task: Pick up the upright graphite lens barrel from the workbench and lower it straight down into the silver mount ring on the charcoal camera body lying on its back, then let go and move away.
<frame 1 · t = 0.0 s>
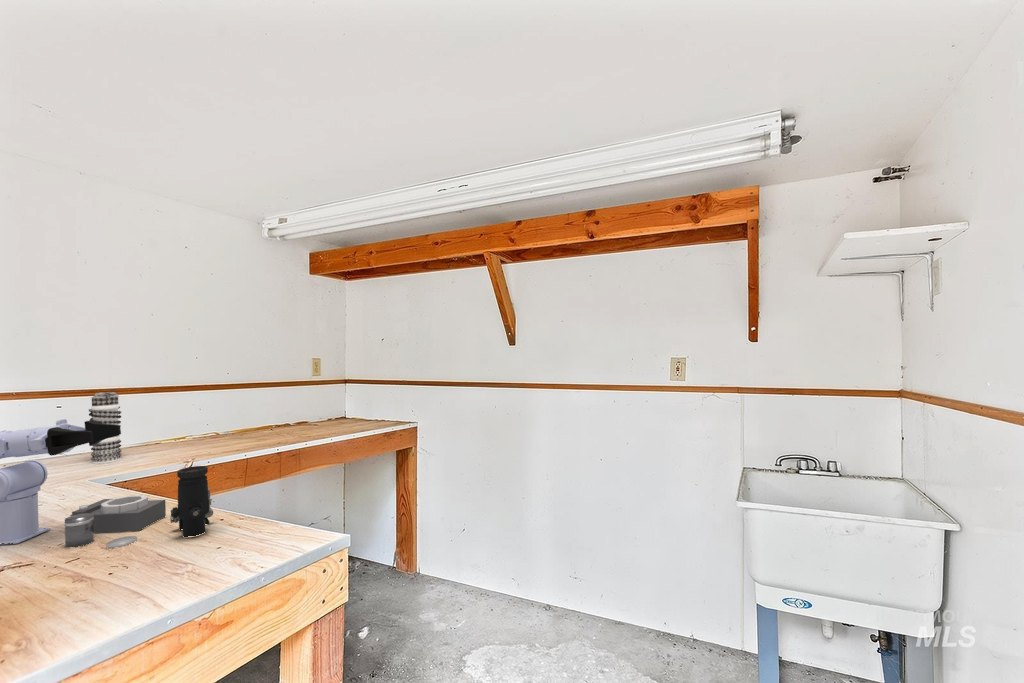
hand: (106, 433, 106), 22 cm above the workbench, tool horizontal, fingers open, 7 cm apart
grey domed disc: (122, 544, 100), on the workbench
camera body: (125, 524, 111), on the workbench
scope: (194, 533, 105), on the workbench
lens: (79, 543, 101), on the workbench
decorative candle: (106, 461, 178), on the workbench
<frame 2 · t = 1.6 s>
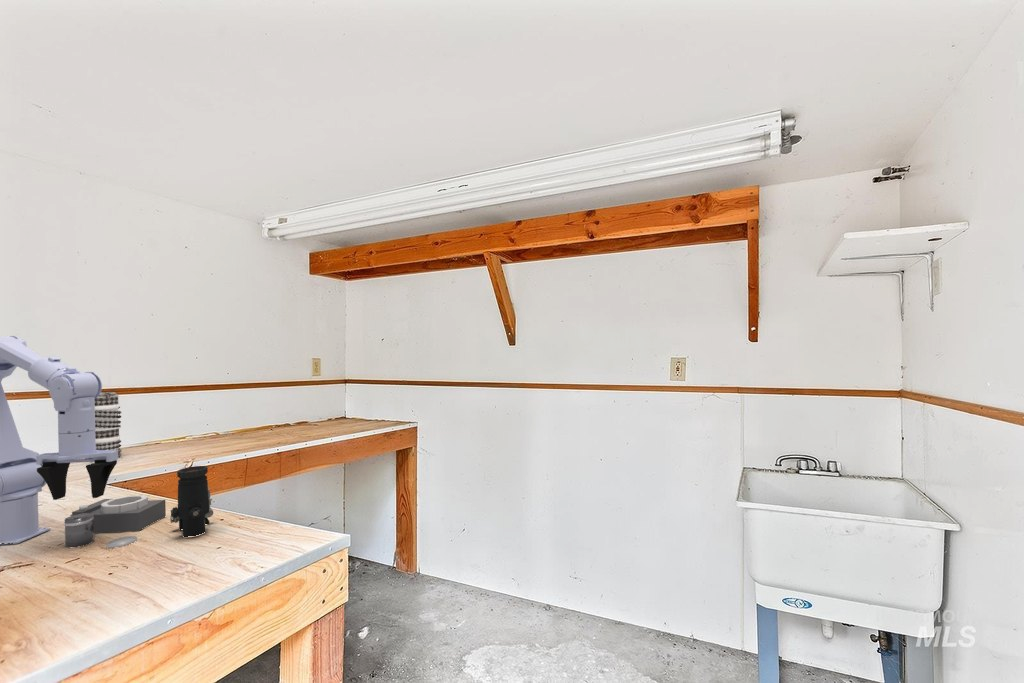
hand: (78, 497, 101), 9 cm above the workbench, tool pointing down, fingers open, 7 cm apart
nothing on the workbench moved.
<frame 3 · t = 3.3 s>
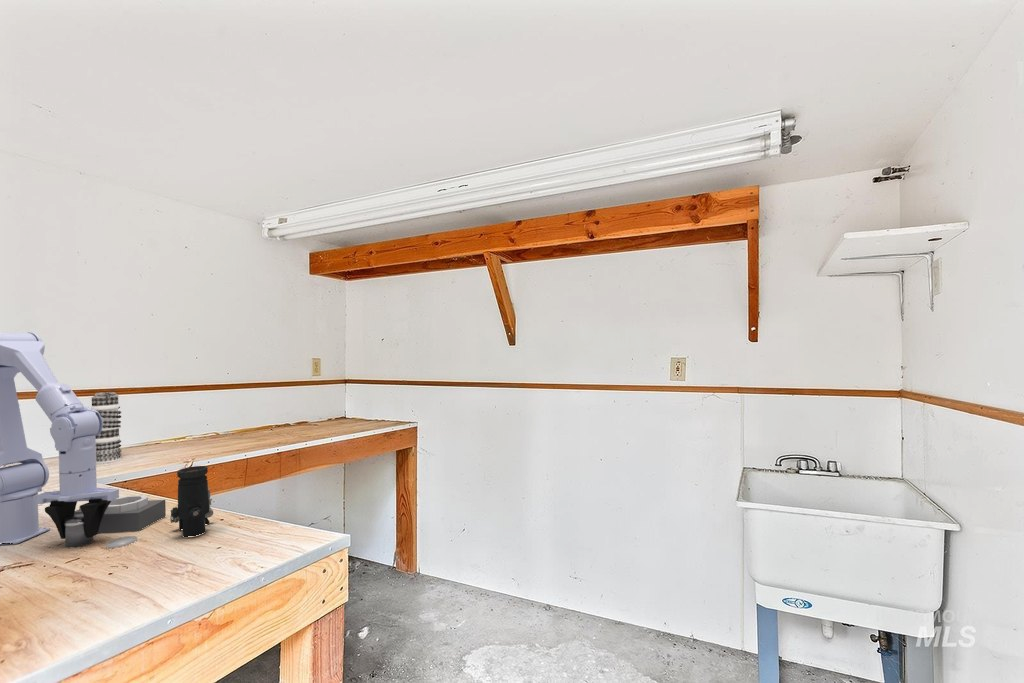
hand: (79, 536, 101), 1 cm above the workbench, tool pointing down, fingers closed on lens, 4 cm apart
lens: (79, 543, 101), on the workbench, touching gripper
everything else where it was.
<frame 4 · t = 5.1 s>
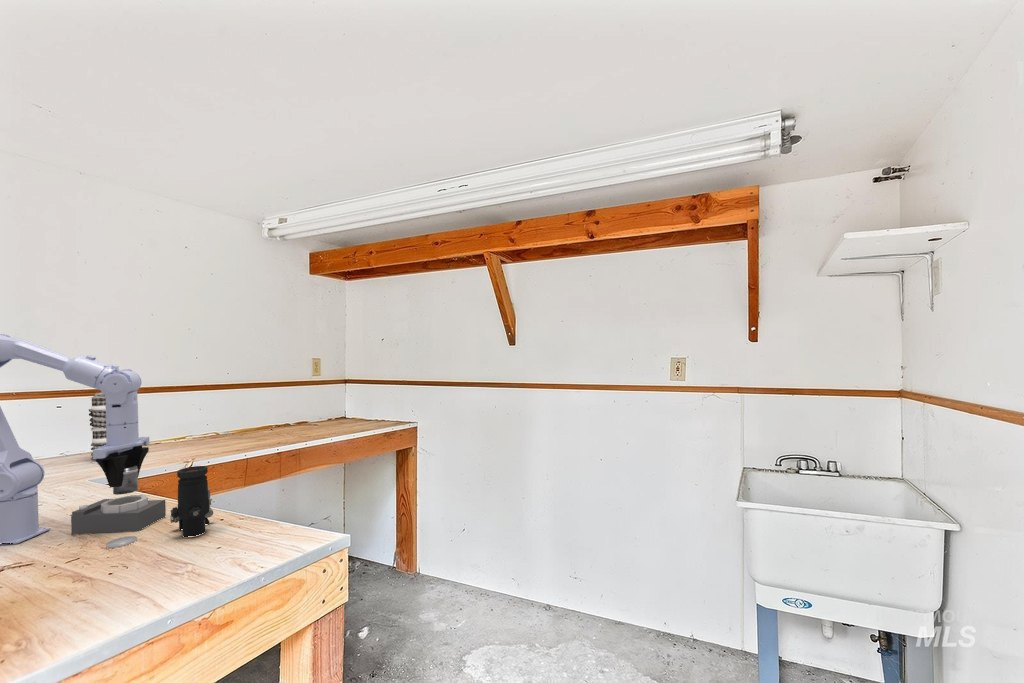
hand: (123, 483, 111), 9 cm above the workbench, tool pointing down, fingers closed on lens, 4 cm apart
lens: (125, 491, 111), point 8 cm above the workbench, touching gripper
everything else where it was.
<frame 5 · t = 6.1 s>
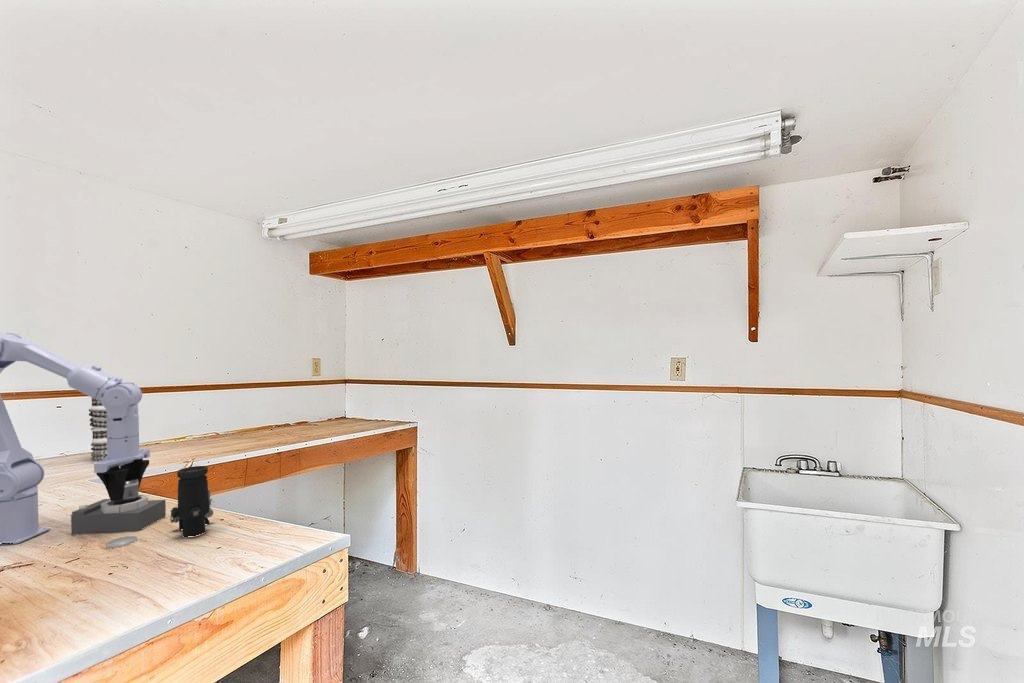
hand: (124, 496, 111), 6 cm above the workbench, tool pointing down, fingers closed on lens, 4 cm apart
lens: (126, 504, 111), point 5 cm above the workbench, touching gripper
everything else where it was.
when the fingers open (6 cm above the workbench, at t = 6.7 s): lens stays where it is, resting on camera body.
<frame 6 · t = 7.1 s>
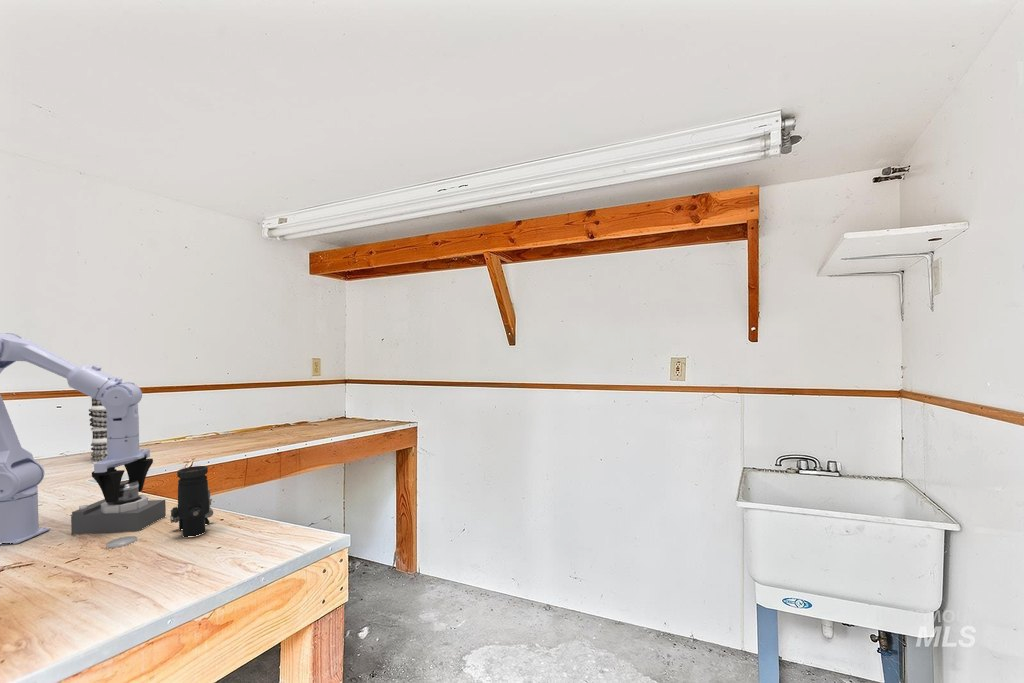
hand: (124, 496, 111), 6 cm above the workbench, tool pointing down, fingers open, 7 cm apart
lens: (126, 507, 111), point 4 cm above the workbench, touching camera body
everything else where it was.
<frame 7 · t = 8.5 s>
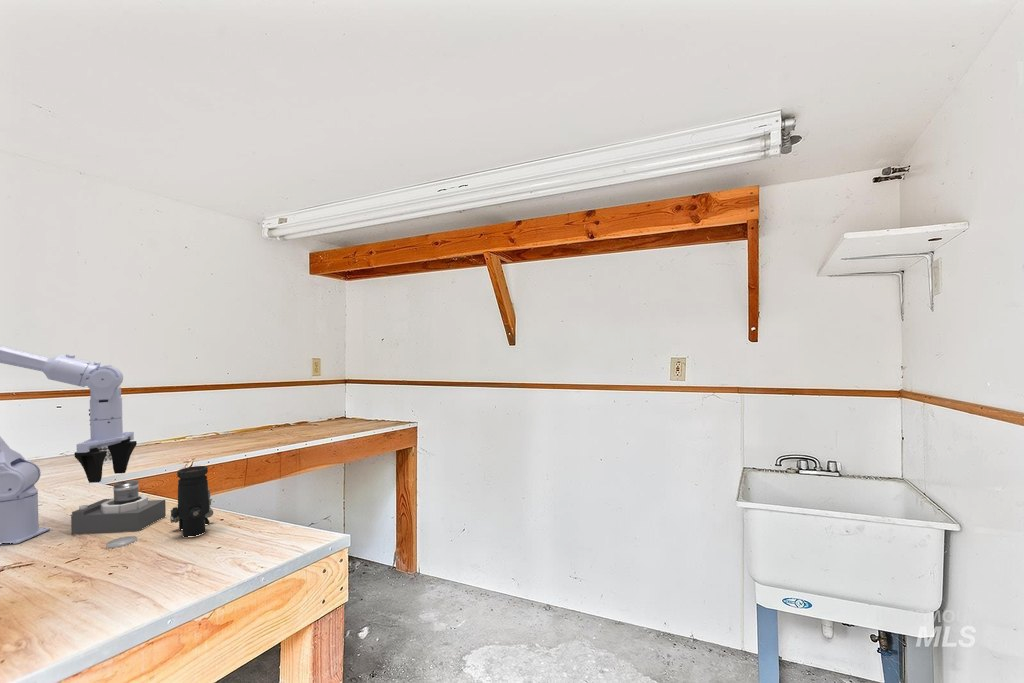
hand: (107, 477, 112), 10 cm above the workbench, tool pointing down, fingers open, 7 cm apart
nothing on the workbench moved.
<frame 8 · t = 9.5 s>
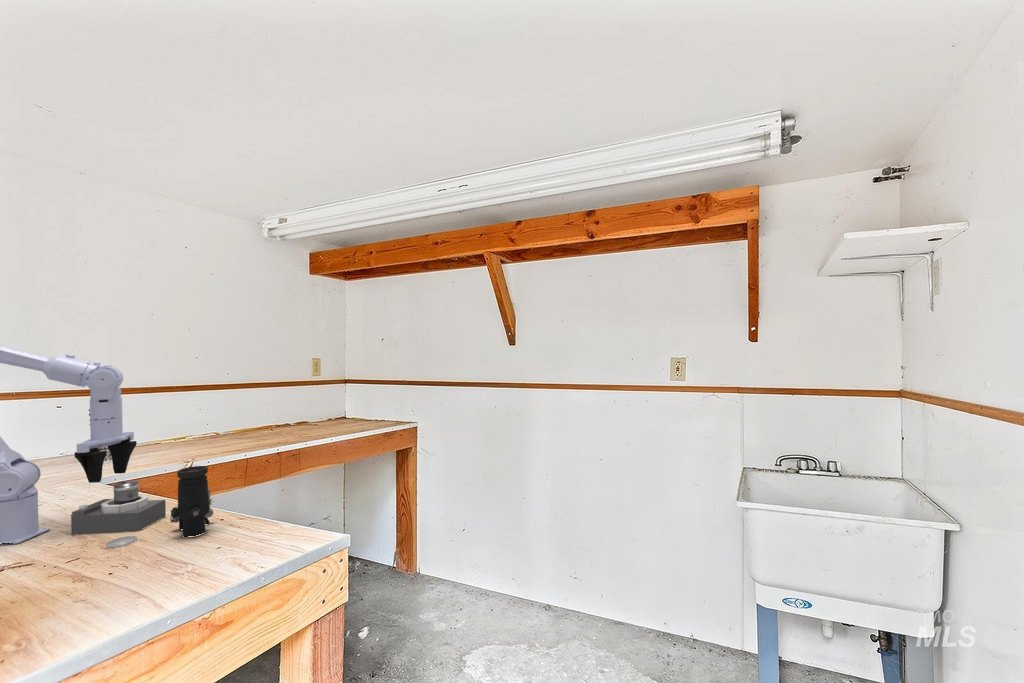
hand: (107, 477, 112), 10 cm above the workbench, tool pointing down, fingers open, 7 cm apart
nothing on the workbench moved.
at the end: lens 0.4 cm off-centre on the camera body, point 4.0 cm above the camera body's base; lens tilted 0°; the gripper is holding nothing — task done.
